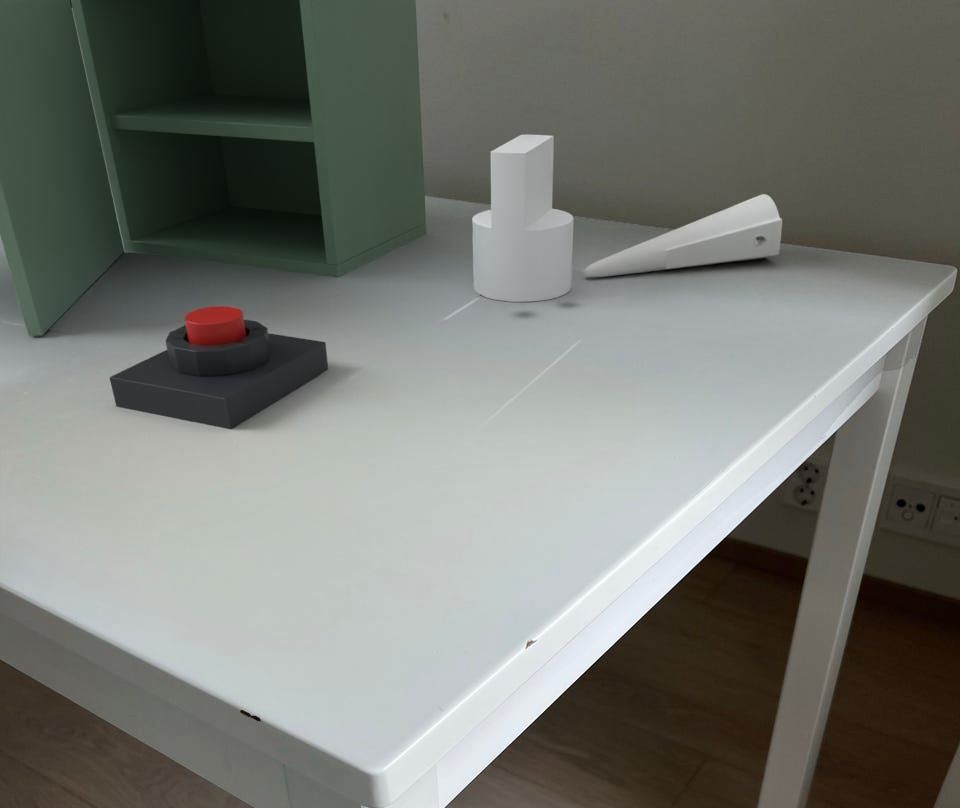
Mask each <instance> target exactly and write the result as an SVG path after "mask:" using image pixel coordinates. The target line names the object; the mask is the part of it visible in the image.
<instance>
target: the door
mask: <svg viewBox="0 0 960 808" xmlns="http://www.w3.org/2000/svg"><path fill="white" fill-rule="evenodd" d="M0 240H1V243H2V247H3V251H4V254H5V258H6V261H7V264H8V268H9V272H10V275H11V278H12V282H13V286H14V291H15V293H16V297H17V300H18V303H19V308H20V311H21V315H22V317H23V321H24V325H25V328H26V332H27V335H28V336H29V337H34V336H40V337H41V336H43V335H44V334H45V333H47V332H48V330H49V329H51V327H52V326H53V325H54V324H55V323H56V322H57V321H58V320H59V319H60V318H61V317H62V316H63V315H64V314H65V313H66V312H67V311H68V310H69V309H70V308H71V307H72V306H73V305H74V304H75V303H76V302H77V301H78V300H79V299H80V298H81V297H82V296H83V294H85V293H86V292H87V291H88V289H89V288H90V287H91V286H93V284H95V282H96V281H98V279H99V278H100V277H101V276H102V275H103V274H105V273H106V271H107V270H108V269H109V268H110V267H112V265H113V264H114V263H115V262H116V261H117V260H118V259H119V258H120V257H121V256H122V255H123V254H124V253H125V249H124V245H123V239H122V235H121V231H120V226H119V221H118V217H117V212H116V207H115V203H114V198H113V193H112V189H111V184H110V180H109V175H108V170H107V166H106V161H105V156H104V152H103V147H102V142H101V138H100V133H99V129H98V124H97V119H96V115H95V110H94V105H93V101H92V96H91V91H90V87H89V82H88V78H87V73H86V68H85V64H84V59H83V54H82V50H81V45H80V40H79V36H78V31H77V26H76V22H75V17H74V13H73V8H72V3H71V0H0Z"/></svg>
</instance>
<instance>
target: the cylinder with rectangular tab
mask: <svg viewBox="0 0 960 808" xmlns="http://www.w3.org/2000/svg"><path fill="white" fill-rule="evenodd" d="M554 138H555V135H550V134H549V135H548V134H520V135H518V136H516V137H514V138H513V139H511V140H509V141H507V142H505V143H504V144H502V145H500V146H498V147H496V148H494V149H493V150H491V151H490V209H488V210H484V211H480V212H478V213H476V214H474V215H473V217H472V218H471V224H472V225H471V227H472V228H471V229H472V271H473V273H472V274H473V289H474V291H475V292H476V293H477V294H479V295H480V296H482V297H484V298H487V299H491V300H495V301H502V302H514V303H527V302H528V303H529V302H539V301H540V302H541V301H548V300H552V299H557V298H559V297H562V296H564V295H566V294H567V293H569V292H570V291H571V289H572V277H573V275H572V274H573V249H574V248H573V247H574V246H573V245H574V219H575V218H574V216H573V214H571V213H569V212H567V211H564V210H561V209H556V208H553V189H554V188H553V187H554V186H553V185H554V147H555V145H554V144H555V143H554V142H555V139H554Z"/></svg>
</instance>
